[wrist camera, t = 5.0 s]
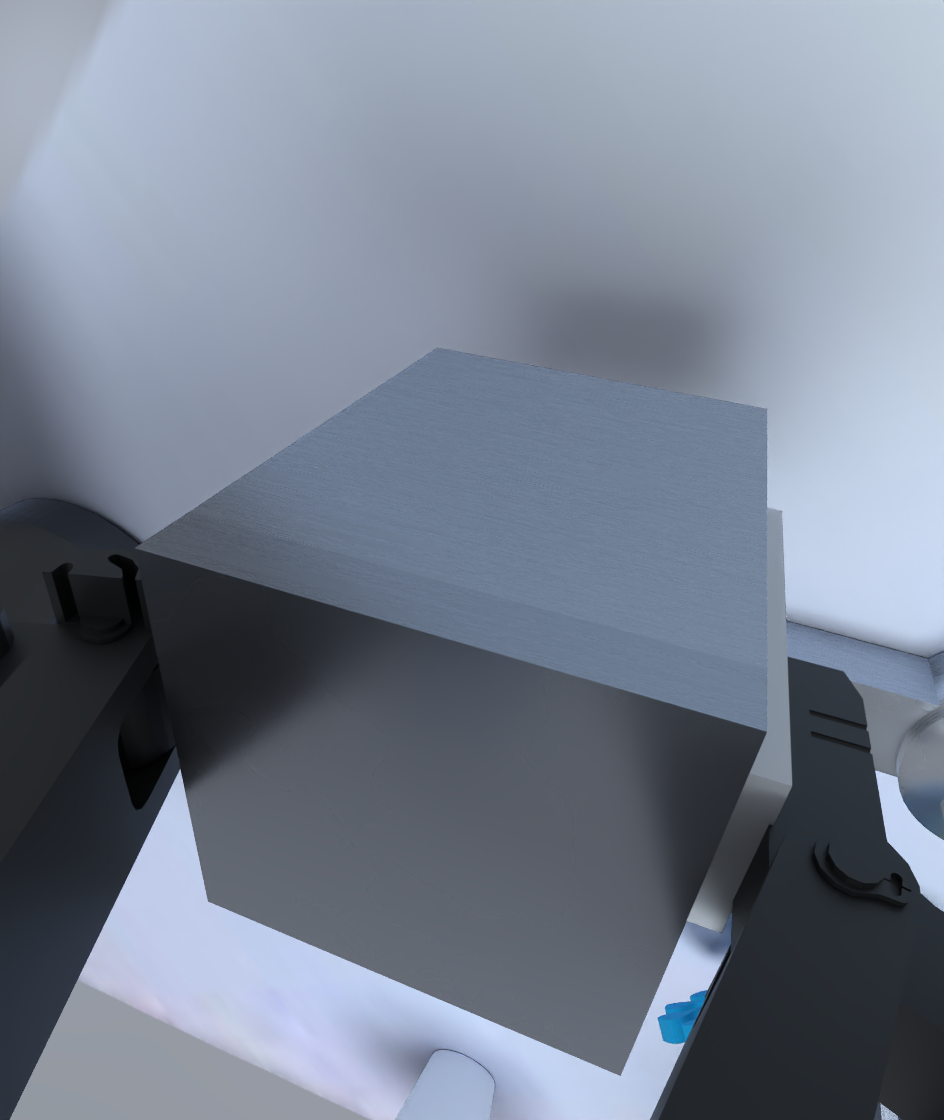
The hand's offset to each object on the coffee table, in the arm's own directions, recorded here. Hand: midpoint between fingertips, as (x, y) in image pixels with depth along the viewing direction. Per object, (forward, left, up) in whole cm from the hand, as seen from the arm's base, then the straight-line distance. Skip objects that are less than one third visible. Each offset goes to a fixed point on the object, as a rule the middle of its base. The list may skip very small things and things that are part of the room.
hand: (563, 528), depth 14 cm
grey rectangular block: (0, 0, 0) cm, 0 cm away
